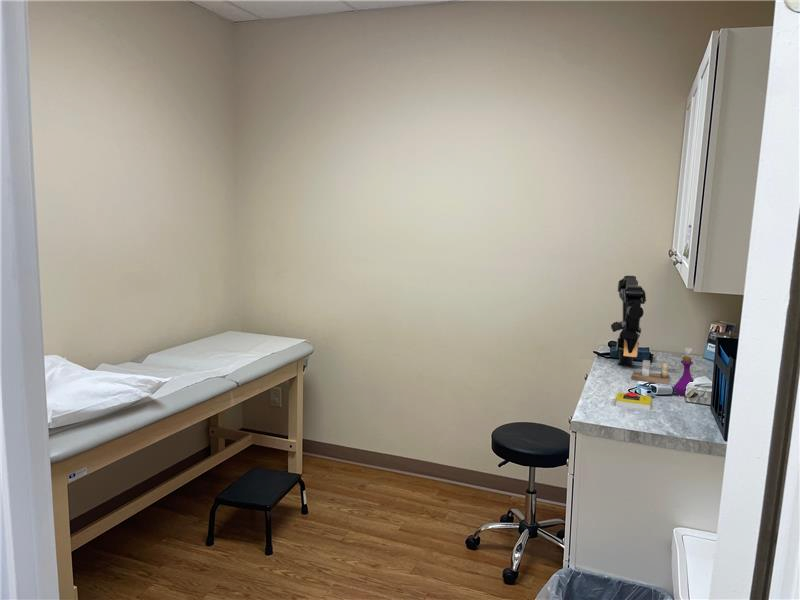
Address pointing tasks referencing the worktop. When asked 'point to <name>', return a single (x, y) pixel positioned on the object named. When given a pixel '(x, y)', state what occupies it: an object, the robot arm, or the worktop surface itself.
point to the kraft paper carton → (634, 352)
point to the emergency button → (634, 401)
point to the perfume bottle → (684, 374)
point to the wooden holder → (652, 374)
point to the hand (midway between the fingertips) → (630, 351)
